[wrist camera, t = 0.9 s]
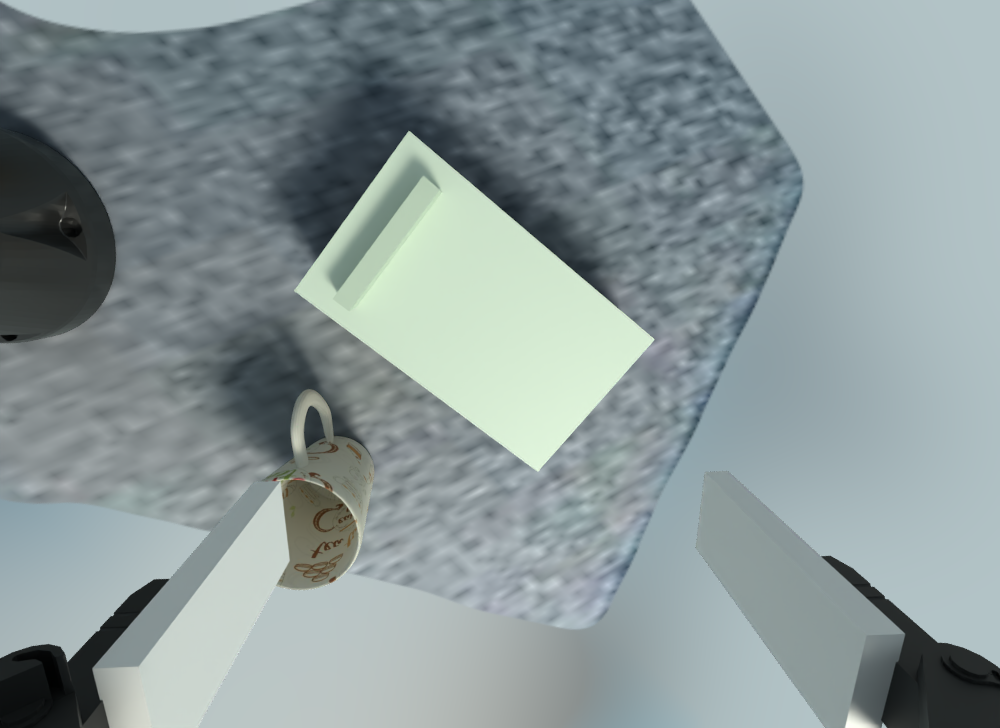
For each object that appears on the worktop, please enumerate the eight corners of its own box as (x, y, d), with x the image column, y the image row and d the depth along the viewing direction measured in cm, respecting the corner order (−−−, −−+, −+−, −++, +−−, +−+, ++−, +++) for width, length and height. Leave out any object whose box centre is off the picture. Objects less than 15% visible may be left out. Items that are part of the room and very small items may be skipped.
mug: (299, 517, 43) (245, 597, 33) (269, 378, 40) (201, 421, 30) (394, 507, 43) (369, 584, 34) (372, 368, 40) (337, 408, 30)
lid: (298, 289, 32) (284, 293, 30) (410, 133, 30) (404, 124, 28) (536, 466, 35) (540, 482, 33) (650, 337, 33) (663, 344, 31)
